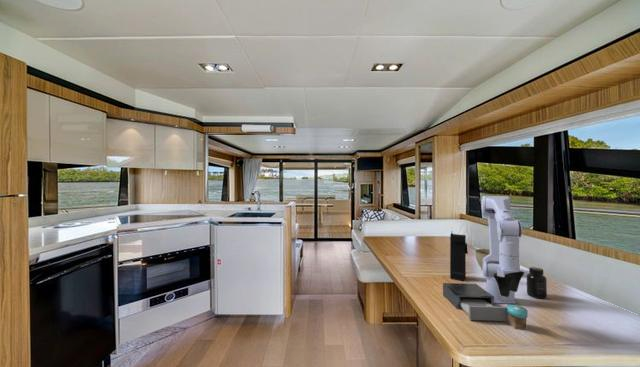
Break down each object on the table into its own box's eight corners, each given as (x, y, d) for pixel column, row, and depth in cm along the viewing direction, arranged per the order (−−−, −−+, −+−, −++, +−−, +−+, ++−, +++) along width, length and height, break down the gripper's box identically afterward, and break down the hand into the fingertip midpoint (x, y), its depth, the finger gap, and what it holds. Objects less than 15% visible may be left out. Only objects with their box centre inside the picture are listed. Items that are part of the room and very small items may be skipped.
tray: (486, 304, 105) (486, 293, 106) (508, 321, 93) (508, 308, 93) (453, 303, 106) (453, 292, 106) (470, 319, 93) (470, 306, 93)
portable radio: (467, 278, 137) (468, 230, 137) (467, 281, 132) (467, 232, 132) (451, 275, 141) (451, 228, 141) (449, 278, 136) (449, 230, 136)
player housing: (475, 296, 115) (475, 283, 115) (493, 310, 102) (493, 296, 102) (442, 295, 115) (443, 282, 116) (456, 308, 102) (456, 295, 103)
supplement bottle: (547, 296, 115) (547, 268, 116) (546, 300, 110) (546, 272, 111) (527, 291, 120) (527, 265, 120) (525, 296, 115) (525, 268, 115)
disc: (519, 310, 93) (519, 304, 93) (531, 318, 87) (531, 312, 87) (503, 310, 93) (503, 304, 93) (514, 318, 88) (514, 311, 88)
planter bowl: (495, 278, 138) (495, 257, 138) (468, 268, 153) (468, 250, 153) (516, 274, 144) (516, 254, 144) (487, 266, 159) (487, 248, 159)
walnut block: (518, 323, 92) (518, 311, 92) (526, 329, 88) (526, 317, 88) (508, 323, 92) (508, 311, 92) (515, 328, 88) (515, 316, 89)
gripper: (504, 249, 100) (504, 285, 99) (487, 255, 91) (487, 294, 91) (526, 253, 94) (526, 291, 94) (511, 259, 85) (511, 301, 85)
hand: (508, 293), depth 92 cm, fingers open, 7 cm apart
